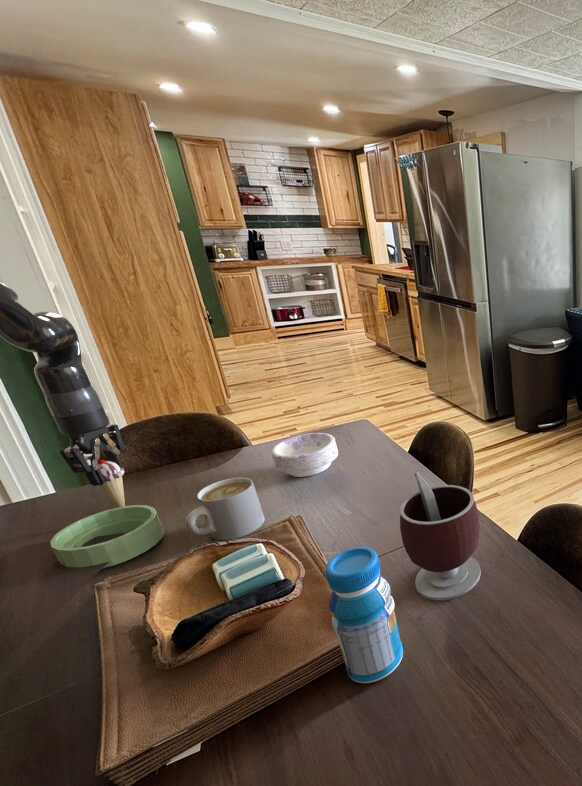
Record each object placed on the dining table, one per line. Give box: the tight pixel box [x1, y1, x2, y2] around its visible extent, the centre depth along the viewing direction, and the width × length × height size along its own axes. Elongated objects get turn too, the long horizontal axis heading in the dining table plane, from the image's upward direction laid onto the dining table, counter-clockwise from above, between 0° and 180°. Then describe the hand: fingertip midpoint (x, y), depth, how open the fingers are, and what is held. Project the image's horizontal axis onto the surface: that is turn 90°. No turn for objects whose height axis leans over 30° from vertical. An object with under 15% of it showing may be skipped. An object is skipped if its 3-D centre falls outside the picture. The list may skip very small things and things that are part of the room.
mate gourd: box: [399, 471, 482, 601], centre depth 89 cm, size 16×14×20 cm
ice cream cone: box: [98, 459, 126, 508], centre depth 108 cm, size 6×6×15 cm
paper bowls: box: [271, 432, 339, 478], centre depth 131 cm, size 15×15×8 cm
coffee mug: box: [185, 477, 266, 541], centre depth 104 cm, size 13×10×10 cm
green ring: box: [49, 504, 166, 569], centre depth 99 cm, size 16×16×6 cm
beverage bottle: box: [325, 546, 404, 684], centre depth 71 cm, size 8×8×20 cm
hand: (108, 477), depth 107 cm, fingers closed on ice cream cone, 5 cm apart
